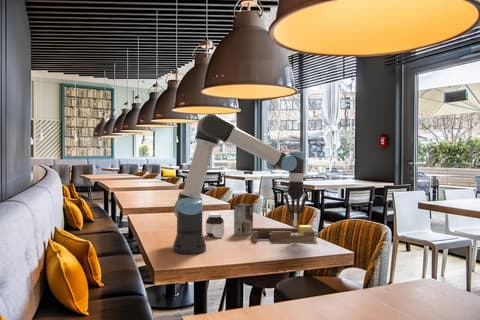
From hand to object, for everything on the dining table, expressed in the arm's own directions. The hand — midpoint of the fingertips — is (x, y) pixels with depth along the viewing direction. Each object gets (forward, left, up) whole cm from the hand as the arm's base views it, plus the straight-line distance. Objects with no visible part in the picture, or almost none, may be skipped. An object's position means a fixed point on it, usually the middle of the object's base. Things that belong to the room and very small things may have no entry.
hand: (294, 226), depth 212 cm
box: (0, +6, -7) cm, 9 cm away
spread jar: (+9, +41, -7) cm, 42 cm away
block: (0, -5, -4) cm, 7 cm away
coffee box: (+15, +26, -7) cm, 31 cm away
